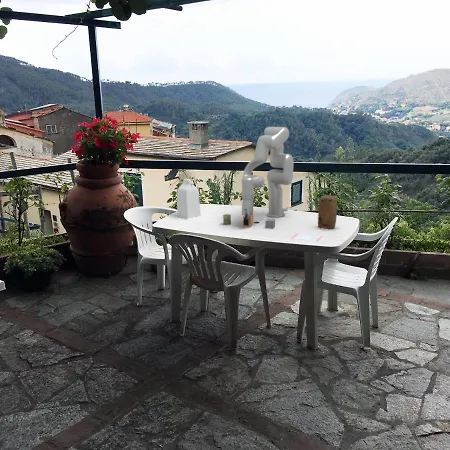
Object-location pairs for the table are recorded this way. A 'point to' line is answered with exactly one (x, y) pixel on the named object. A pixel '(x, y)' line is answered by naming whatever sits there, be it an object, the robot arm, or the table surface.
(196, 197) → the milk
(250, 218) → the terracotta block
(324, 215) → the block
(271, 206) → the robot arm
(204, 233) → the table surface
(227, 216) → the olive cylinder
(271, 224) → the grey cube
